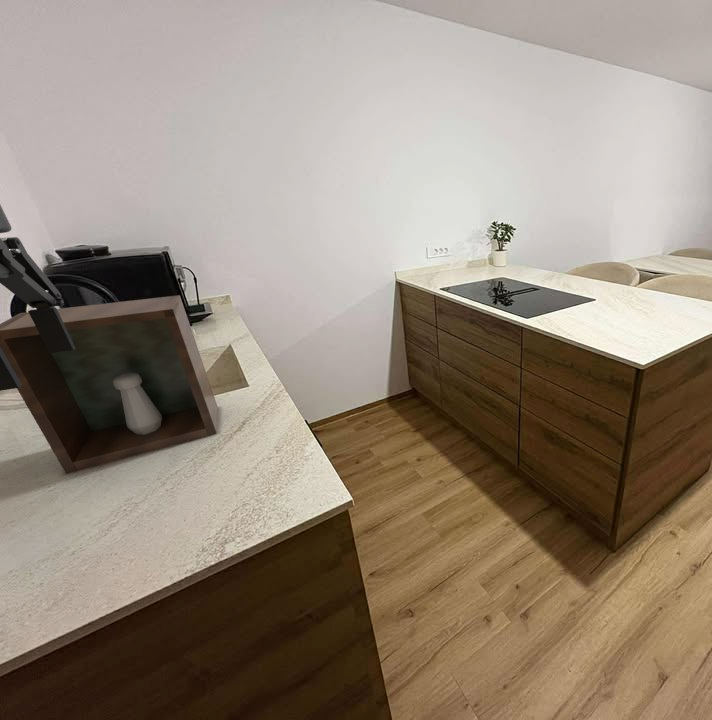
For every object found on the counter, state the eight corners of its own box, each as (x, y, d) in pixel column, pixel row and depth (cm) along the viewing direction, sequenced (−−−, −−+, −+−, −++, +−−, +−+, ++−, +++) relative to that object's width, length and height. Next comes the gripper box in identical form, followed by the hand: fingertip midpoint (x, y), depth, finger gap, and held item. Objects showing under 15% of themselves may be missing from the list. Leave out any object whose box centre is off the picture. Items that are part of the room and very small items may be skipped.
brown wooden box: (65, 474, 71) (-16, 332, 60) (86, 439, 81) (19, 313, 70) (216, 434, 83) (172, 308, 71) (218, 408, 93) (179, 295, 81)
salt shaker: (124, 434, 79) (98, 379, 74) (153, 420, 84) (130, 368, 79) (143, 439, 78) (118, 383, 72) (171, 424, 83) (150, 371, 77)
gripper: (-102, 197, 33) (19, 403, 42) (50, 197, 54) (110, 335, 63) (-239, 198, 31) (-80, 419, 39) (-24, 198, 51) (49, 342, 60)
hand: (37, 368), depth 51 cm, fingers open, 13 cm apart
